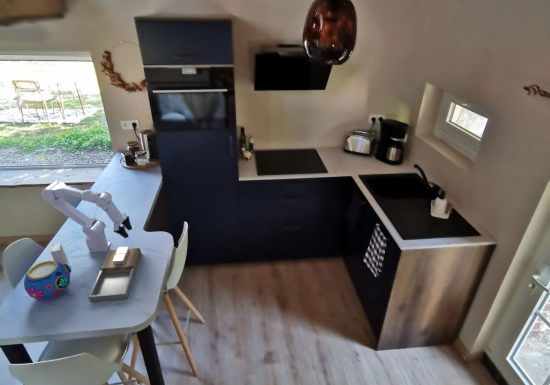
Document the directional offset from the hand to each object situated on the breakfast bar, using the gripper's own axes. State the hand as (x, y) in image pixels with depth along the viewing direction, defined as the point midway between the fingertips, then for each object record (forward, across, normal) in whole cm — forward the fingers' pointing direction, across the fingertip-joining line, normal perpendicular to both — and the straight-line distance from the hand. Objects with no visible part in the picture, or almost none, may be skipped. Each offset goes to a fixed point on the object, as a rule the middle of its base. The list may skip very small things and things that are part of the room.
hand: (128, 233), depth 179 cm
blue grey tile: (+6, -14, +5) cm, 16 cm away
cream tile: (+6, -8, +5) cm, 11 cm away
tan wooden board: (+10, -11, +6) cm, 16 cm away
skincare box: (-1, -10, +34) cm, 36 cm away
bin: (+11, -27, +6) cm, 30 cm away
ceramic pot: (+1, -28, +32) cm, 43 cm away
